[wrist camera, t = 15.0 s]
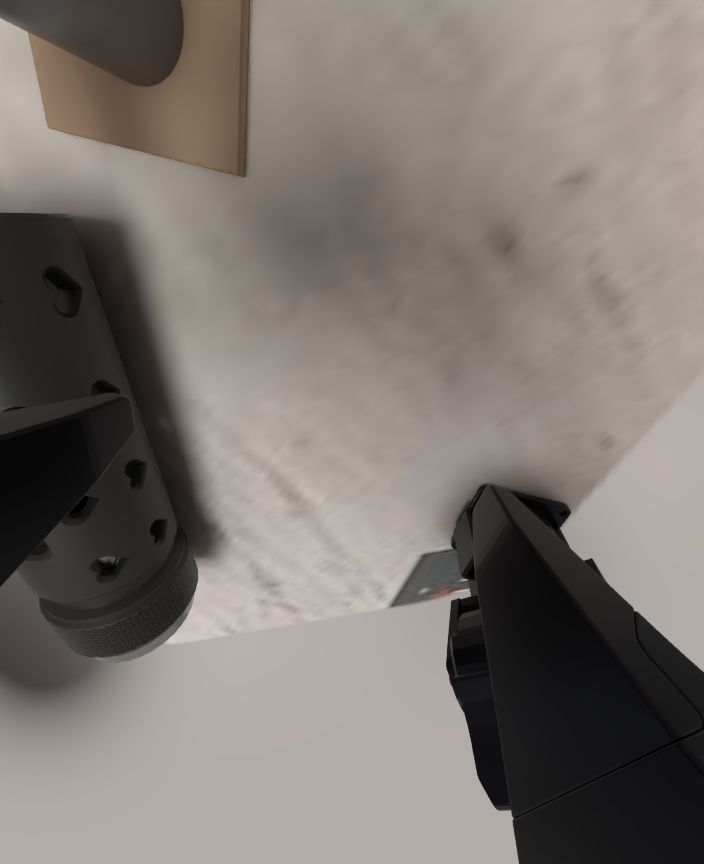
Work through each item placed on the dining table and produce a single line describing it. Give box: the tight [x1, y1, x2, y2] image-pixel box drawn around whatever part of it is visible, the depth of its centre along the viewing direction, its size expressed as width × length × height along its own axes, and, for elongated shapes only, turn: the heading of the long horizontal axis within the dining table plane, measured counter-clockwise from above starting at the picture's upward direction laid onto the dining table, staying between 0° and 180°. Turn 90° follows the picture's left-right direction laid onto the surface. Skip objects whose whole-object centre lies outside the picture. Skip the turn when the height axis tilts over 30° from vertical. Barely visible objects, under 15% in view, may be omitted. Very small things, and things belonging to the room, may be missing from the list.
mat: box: [28, 0, 249, 176], centre depth 14 cm, size 9×9×1 cm
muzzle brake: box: [0, 213, 198, 663], centre depth 22 cm, size 10×28×10 cm, turn 179°
